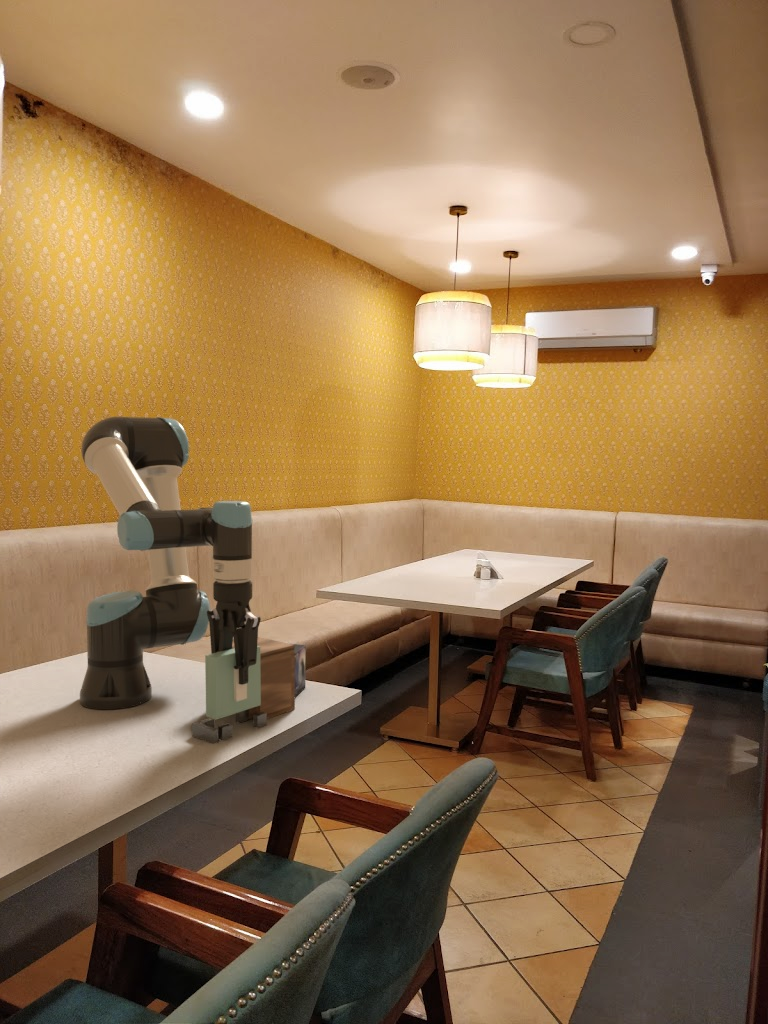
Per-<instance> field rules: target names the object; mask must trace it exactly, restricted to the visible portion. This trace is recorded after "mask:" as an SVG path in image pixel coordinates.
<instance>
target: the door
mask: <svg viewBox="0 0 768 1024" xmlns="http://www.w3.org/2000/svg"><path fill="white" fill-rule="evenodd" d="M204 657H205V659H204V661H205V665H204V666H205V667H204V668H205V716H206V717H207V718H213V719H215V720H219V719H222V718H225V717H229V716H232V715H236V714H235V713H238V712H241V711H244V710H247V709H250V708H253V707H257V706H260V705H261V670H260V646H257V660H256V664H255V665H251V666H249V668H248V683H247V699H244V700H240V701H237V702H236V701H234V666H237V665H236V656H235V648H233V649H229V650H225V651H221V652H217V653H213V654H211V653H208V654H205V655H204Z"/></svg>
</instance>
